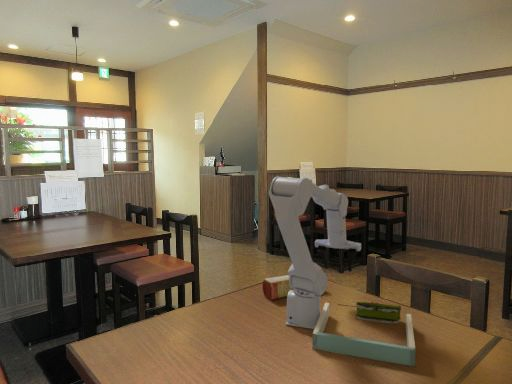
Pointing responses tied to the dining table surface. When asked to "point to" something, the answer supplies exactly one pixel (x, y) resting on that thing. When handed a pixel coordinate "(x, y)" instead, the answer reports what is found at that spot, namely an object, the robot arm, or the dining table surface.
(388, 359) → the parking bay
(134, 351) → the dining table surface
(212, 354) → the dining table surface
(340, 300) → the dining table surface
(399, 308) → the toy tank
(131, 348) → the dining table surface
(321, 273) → the robot arm
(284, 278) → the snack package
